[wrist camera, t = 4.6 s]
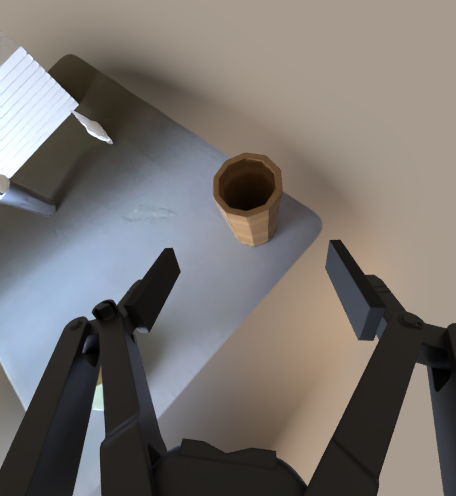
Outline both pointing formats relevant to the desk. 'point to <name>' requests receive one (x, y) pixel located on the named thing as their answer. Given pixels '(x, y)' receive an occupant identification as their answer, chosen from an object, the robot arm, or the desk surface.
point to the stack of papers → (26, 105)
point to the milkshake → (24, 198)
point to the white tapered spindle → (93, 128)
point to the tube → (249, 197)
